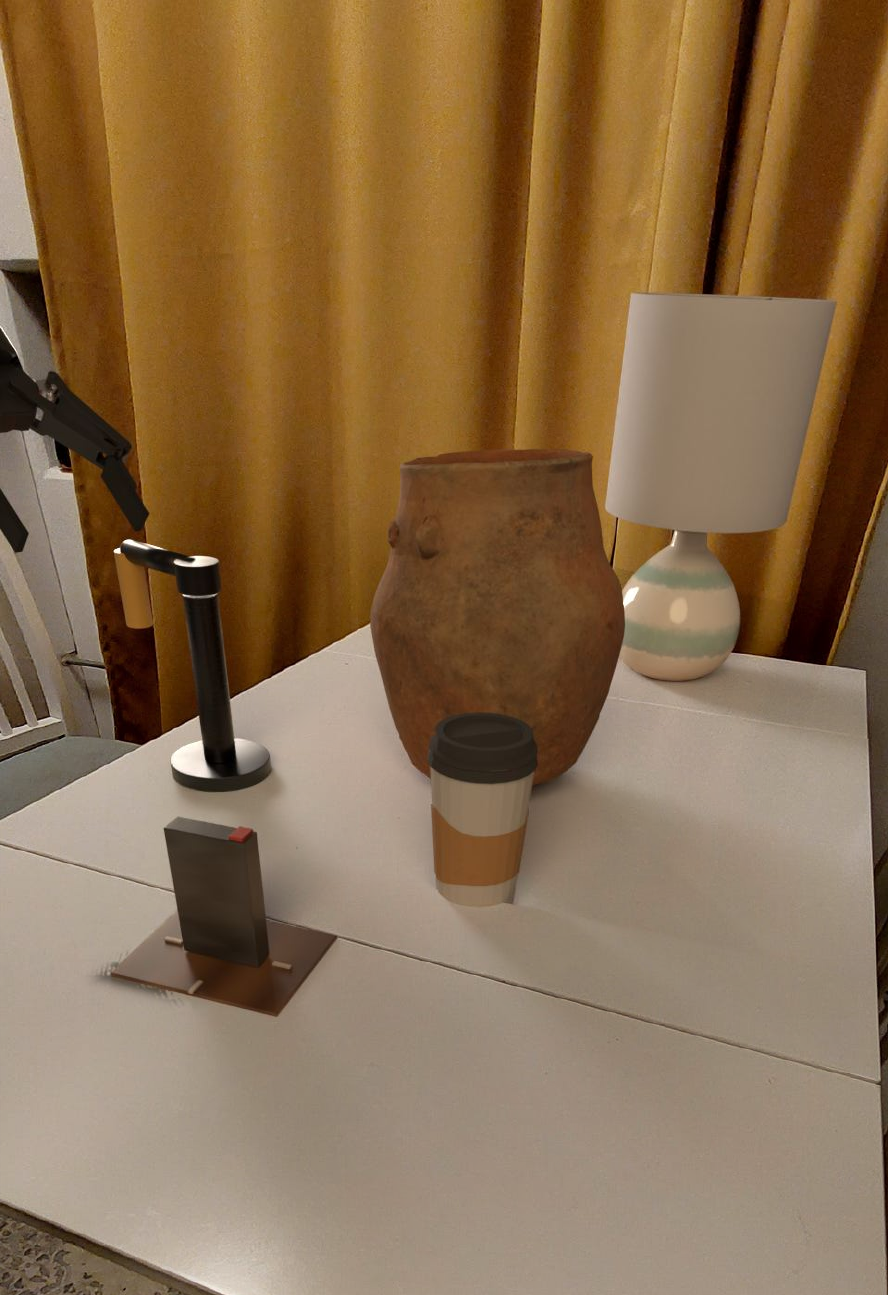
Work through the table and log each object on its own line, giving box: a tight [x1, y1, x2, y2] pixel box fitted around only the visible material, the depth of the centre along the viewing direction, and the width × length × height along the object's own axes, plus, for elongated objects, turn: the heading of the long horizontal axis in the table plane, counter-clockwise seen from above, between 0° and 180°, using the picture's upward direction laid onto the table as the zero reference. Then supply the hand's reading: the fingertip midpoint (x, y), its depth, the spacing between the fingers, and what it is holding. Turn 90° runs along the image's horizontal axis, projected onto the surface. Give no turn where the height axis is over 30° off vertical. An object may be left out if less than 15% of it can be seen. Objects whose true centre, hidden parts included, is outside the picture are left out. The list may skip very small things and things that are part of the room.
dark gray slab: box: [163, 816, 270, 968], centre depth 65 cm, size 6×2×10 cm, turn 71°
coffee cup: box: [427, 712, 538, 908], centre depth 74 cm, size 8×8×15 cm
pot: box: [369, 448, 625, 786], centre depth 89 cm, size 24×24×30 cm
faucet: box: [169, 593, 272, 793], centre depth 92 cm, size 10×10×18 cm
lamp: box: [604, 292, 838, 682], centre depth 113 cm, size 22×22×40 cm
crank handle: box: [113, 539, 223, 630], centre depth 89 cm, size 14×4×8 cm, turn 50°
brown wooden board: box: [109, 909, 338, 1018], centre depth 69 cm, size 13×10×2 cm
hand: (85, 532), depth 93 cm, fingers open, 13 cm apart
